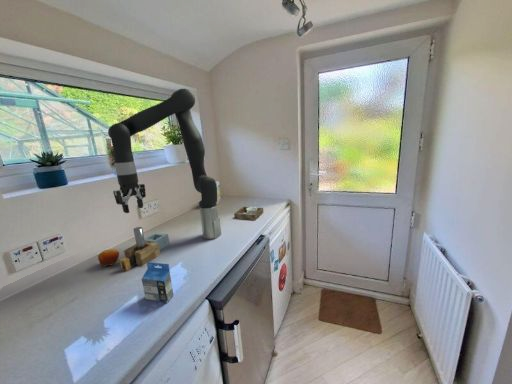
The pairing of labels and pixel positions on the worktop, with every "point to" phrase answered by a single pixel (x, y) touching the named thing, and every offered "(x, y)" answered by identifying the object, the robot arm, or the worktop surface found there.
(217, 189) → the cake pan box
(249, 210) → the teacup
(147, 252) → the socket block
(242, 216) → the cup corral
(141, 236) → the peg
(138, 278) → the worktop surface
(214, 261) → the worktop surface
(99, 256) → the fruit
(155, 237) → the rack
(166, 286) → the blue retail carton
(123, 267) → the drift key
